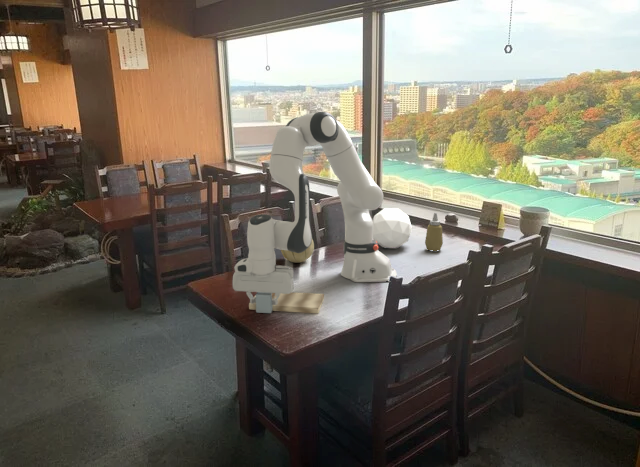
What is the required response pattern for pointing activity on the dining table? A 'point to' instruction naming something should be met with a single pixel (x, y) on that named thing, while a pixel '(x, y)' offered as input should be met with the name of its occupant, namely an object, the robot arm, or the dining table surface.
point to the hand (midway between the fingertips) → (264, 303)
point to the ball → (391, 228)
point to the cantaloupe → (298, 254)
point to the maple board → (297, 302)
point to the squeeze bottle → (434, 234)
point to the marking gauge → (264, 302)
